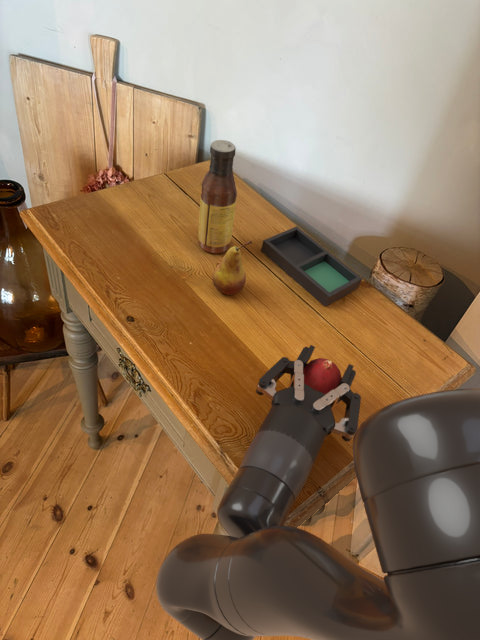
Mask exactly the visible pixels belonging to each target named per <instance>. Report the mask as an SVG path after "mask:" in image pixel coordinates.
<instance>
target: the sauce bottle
mask: <svg viewBox="0 0 480 640" xmlns="http://www.w3.org/2000/svg"><path fill="white" fill-rule="evenodd" d="M236 148H237V147H236V145H235V144H234V143H233V142H231V141H229V140H225V139H219V140H214V141H212V142H211V143H210V145H209V153H210V161H209V162H210V163H209V169H208V171H207V173H206V174H205V175H204V177H203V179H202V181H201V193H200V200H199V213H198V214H199V215H198V232H197V233H198V235H197V238H198V245H199V247H200V248H201V249H202V250H203V251H205V252H206V253H209V254H215V255H216V254H223V253H226V252H227V251H228V250H229V249H230V246H231V245H230V244H231V242H232V237H233V230H234V229H233V228H234V223H235V222H234V221H235V214H236V213H235V212H236V206H237V197H238V196H237V195H238V192H237V186H236V181H235V176H234V170H233V169H234V168H233V166H234V158H235V156H236Z"/></svg>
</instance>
